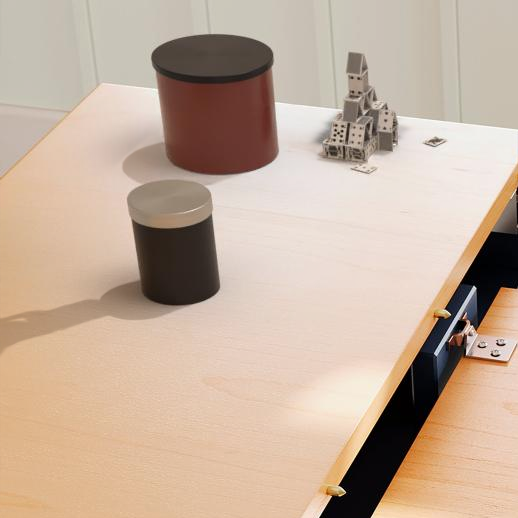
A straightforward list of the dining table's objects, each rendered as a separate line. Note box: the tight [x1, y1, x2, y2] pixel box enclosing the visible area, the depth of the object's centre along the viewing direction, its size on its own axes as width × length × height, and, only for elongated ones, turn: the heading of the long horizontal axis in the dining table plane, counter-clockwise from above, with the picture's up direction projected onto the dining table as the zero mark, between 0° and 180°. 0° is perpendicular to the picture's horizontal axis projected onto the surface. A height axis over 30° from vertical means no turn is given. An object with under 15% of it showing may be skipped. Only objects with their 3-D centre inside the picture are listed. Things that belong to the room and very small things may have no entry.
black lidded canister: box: [126, 179, 221, 307], centre depth 104 cm, size 5×5×8 cm
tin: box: [150, 33, 280, 176], centre depth 124 cm, size 9×9×8 cm
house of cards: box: [322, 51, 448, 174], centre depth 126 cm, size 9×9×8 cm
